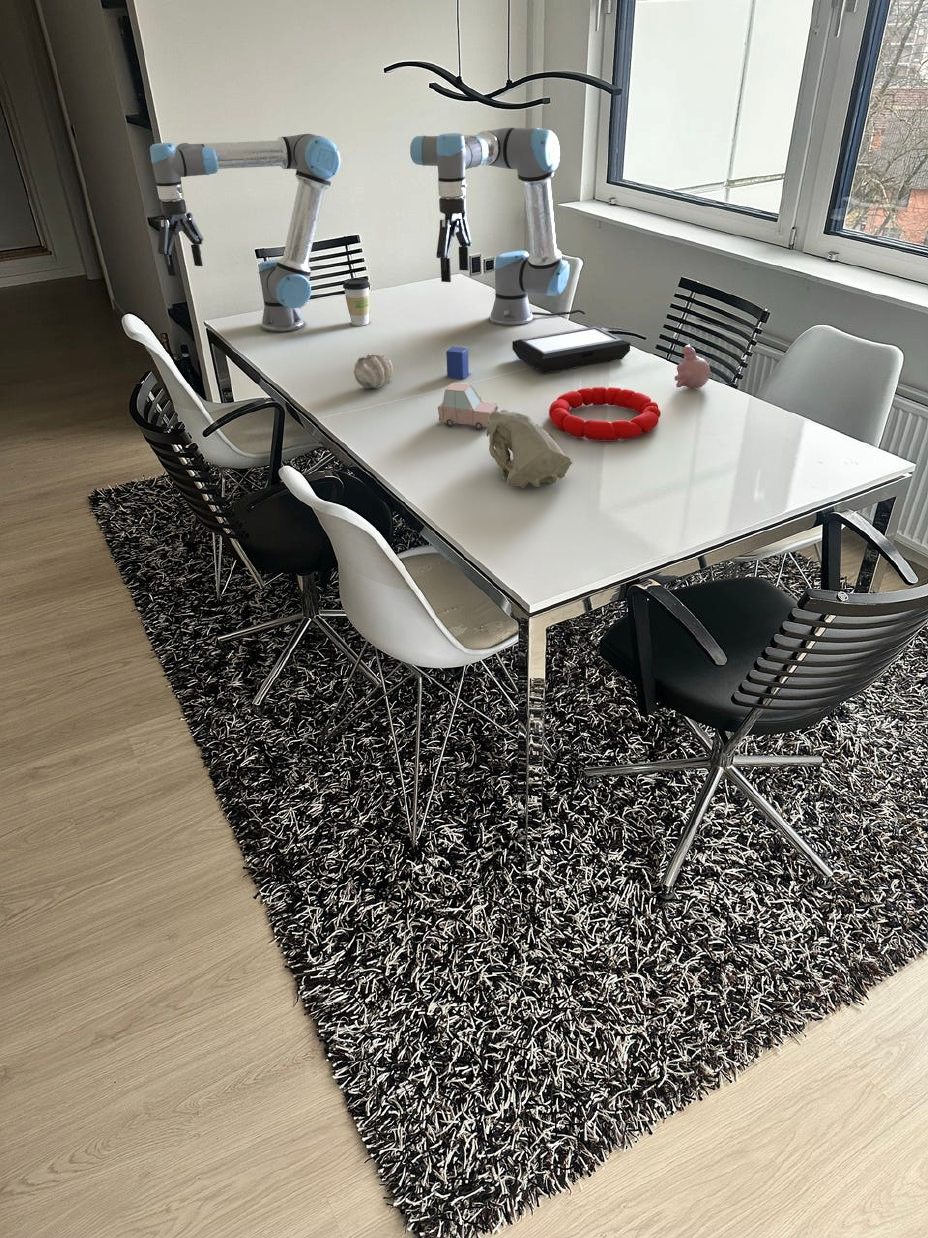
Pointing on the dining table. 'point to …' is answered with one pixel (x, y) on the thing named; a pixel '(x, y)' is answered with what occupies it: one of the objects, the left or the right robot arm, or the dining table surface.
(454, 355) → the brick
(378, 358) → the seashell
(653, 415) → the decorative ring
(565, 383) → the dining table surface
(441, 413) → the toy car
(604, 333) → the electronic device
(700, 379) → the figurine
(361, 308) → the coffee cup
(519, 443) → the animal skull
